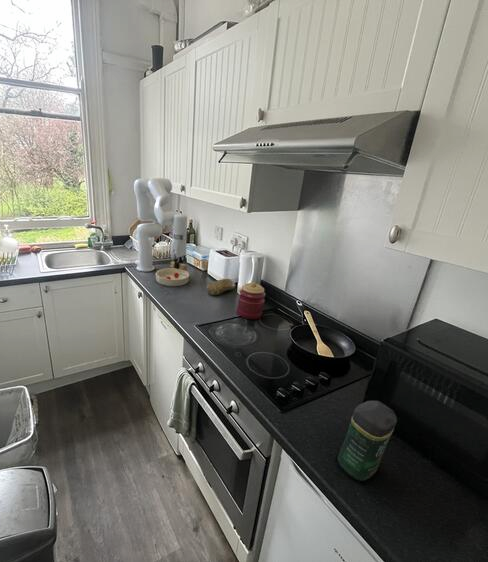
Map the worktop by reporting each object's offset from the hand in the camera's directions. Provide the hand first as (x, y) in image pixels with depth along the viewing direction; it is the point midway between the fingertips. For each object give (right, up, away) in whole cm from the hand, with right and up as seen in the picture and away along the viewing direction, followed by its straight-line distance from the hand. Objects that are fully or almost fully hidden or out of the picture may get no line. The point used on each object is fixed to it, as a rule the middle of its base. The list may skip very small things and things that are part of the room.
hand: (178, 267), depth 172 cm
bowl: (-5, -7, +18) cm, 20 cm away
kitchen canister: (+38, -25, -19) cm, 49 cm away
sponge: (+24, -15, +5) cm, 29 cm away
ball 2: (-3, -4, +21) cm, 22 cm away
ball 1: (-7, -7, +14) cm, 17 cm away
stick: (0, 0, 0) cm, 0 cm away
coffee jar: (+53, -56, -96) cm, 123 cm away
